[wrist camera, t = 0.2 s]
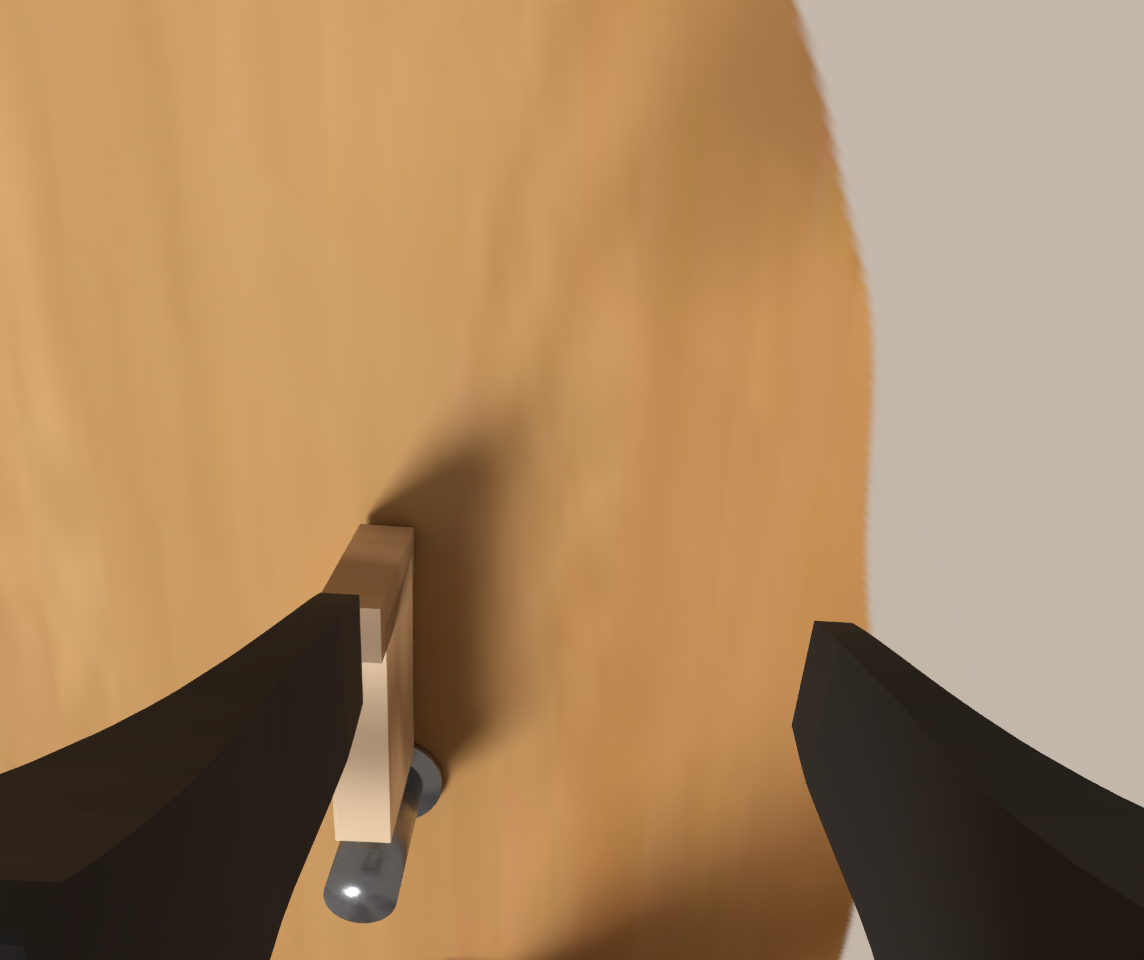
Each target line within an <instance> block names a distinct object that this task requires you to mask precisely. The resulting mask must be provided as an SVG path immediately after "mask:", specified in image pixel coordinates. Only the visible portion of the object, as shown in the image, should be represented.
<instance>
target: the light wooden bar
mask: <svg viewBox="0 0 1144 960" xmlns="http://www.w3.org/2000/svg"><path fill="white" fill-rule="evenodd" d="M413 577H414V527H400V526H384V525H367V524H360V525H359V527H358V529H357V531H356V533H355V534H354V536H353V538H352V540H351V541H350V543H349V545H348V547H347V548H346V550H345V552H344V554H343V556H342V557H341V559H340V561H339V563H338V564H337V566H336V568H335V570H334V572H333V573H332V575H331V577H330V579H329V580H328V582H327V584H326V586H325V588H324V589H323V591H322V593H337V594H354V595H359V600H360V628H361V656H362V683H363V705H362V709H361V713H360V717H359V721H358V725H357V728H356V732H355V736H354V739H353V743H352V747H351V750H350V754H349V757H348V760H347V763H346V765H345V768H344V770H343V773H342V775H341V778H340V780H339V783H338V785H337V787H336V790H335V792H334V795H333V809H334V826H335V840H337V841H358V842H379V843H391V840H392V836H393V832H394V828H395V824H396V820H397V816H398V812H399V809H400V805H401V801H402V797H403V793H404V789H405V785H406V781H407V777H408V774H409V770H410V766H411V762H412V758H413V754H414V716H413V587H412V579H413Z"/></svg>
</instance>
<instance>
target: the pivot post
mask: <svg viewBox="0 0 1144 960" xmlns="http://www.w3.org/2000/svg"><path fill="white" fill-rule="evenodd" d="M442 783H443V775H442V771H441V768H440V766H439V764H438V762H437V760H436V759H435V758H434V757H433V756H432V755H431V754H430V753H429V752H428V751H427V750H426V749H424V748H423V747H421V746H419V745H417V744H415V743H414V754H413V758H412V762H411V766H410V770H409V774H408V777H407V781H406V785H405V789H404V793H403V797H402V801H401V805H400V809H399V812H398V816H397V820H396V824H395V828H394V832H393V836H392V840H391V843H379V842H358V841H340V843H339V846H338V849H337V852H336V855H335V858H334V861H333V864H332V867H331V870H330V873H329V876H328V879H327V882H326V886H325V889H324V900H325V903H326V905H327V906H328V908H329V909H330V910H331V911H332V912H333V913H334V914H336V915H337V916H339V917H341V918H343V919H345V920H348V921H351V922H356V923H371V922H376V921H379V920H382V919H384V918H385V917H387V916H388V915H390V914H391V913H392V911H393V910H394V909H395V906H396V903H397V899H398V894H399V890H400V886H401V881H402V877H403V873H404V868H405V864H406V859H407V855H408V851H409V846H410V842H411V838H412V833H413V829H414V824H415V820H416V818H417V817H419V816H422V815H423V814H425V813H427V812H428V811H429V810H430V809H432V807H433V806H434V805H435V804H436V802H437V801H438V799H439V797H440V793H441V789H442Z"/></svg>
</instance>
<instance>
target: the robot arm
mask: <svg viewBox="0 0 1144 960" xmlns="http://www.w3.org/2000/svg"><path fill="white" fill-rule="evenodd" d="M362 705H363V683H362V656H361V628H360V600H359V595H354V594H337V593H319V594H317V595H316V596H314V597H313V598H311V599H310V600H308V601H307V602H306V603H304V604H303V605H301V606H300V607H299V608H297V609H296V610H295V611H293V612H292V613H290V614H289V615H288V616H286V617H285V618H284V619H282V620H281V621H280V622H278V623H277V624H276V625H274V626H273V627H271V628H270V629H269V630H267V631H266V632H264V633H263V634H262V635H260V636H259V637H257V638H256V639H255V640H253V641H252V642H250V643H249V644H248V645H246V646H245V647H243V648H242V649H241V650H239V651H238V652H236V653H235V654H233V655H232V656H230V657H229V658H227V659H226V660H224V661H223V662H221V663H219V664H218V665H216V666H215V667H213V668H212V669H210V670H209V671H207V672H205V673H204V674H202V675H201V676H199V677H198V678H196V679H194V680H193V681H191V682H190V683H188V684H187V685H185V686H184V687H182V688H180V689H179V690H177V691H175V692H174V693H172V694H170V695H169V696H167V697H165V698H163V699H161V700H160V701H158V702H156V703H154V704H153V705H151V706H149V707H147V708H145V709H143V710H141V711H139V712H138V713H136V714H134V715H132V716H130V717H128V718H126V719H124V720H122V721H120V722H118V723H117V724H115V725H113V726H111V727H108V728H106V729H104V730H102V731H100V732H98V733H96V734H94V735H91V736H89V737H87V738H85V739H82V740H80V741H78V742H75V743H73V744H71V745H69V746H66V747H64V748H62V749H60V750H57V751H55V752H53V753H51V754H48V755H46V756H44V757H42V758H39V759H37V760H35V761H33V762H30V763H28V764H25V765H23V766H20V767H18V768H15V769H12V770H10V771H7V772H4V773H2V774H0V960H270V958H271V955H272V952H273V948H274V945H275V942H276V939H277V935H278V932H279V929H280V926H281V922H282V919H283V917H284V914H285V911H286V909H287V906H288V903H289V901H290V898H291V895H292V893H293V890H294V887H295V885H296V883H297V880H298V878H299V876H300V873H301V871H302V868H303V866H304V864H305V861H306V859H307V857H308V854H309V852H310V849H311V847H312V845H313V842H314V840H315V838H316V835H317V833H318V830H319V828H320V826H321V823H322V821H323V819H324V816H325V814H326V812H327V809H328V807H329V804H330V802H331V800H332V797H333V795H334V792H335V790H336V787H337V785H338V783H339V780H340V778H341V775H342V773H343V770H344V768H345V765H346V763H347V760H348V757H349V754H350V750H351V747H352V743H353V739H354V736H355V732H356V728H357V725H358V721H359V717H360V713H361V709H362ZM792 728H793V732H794V737H795V741H796V745H797V749H798V754H799V758H800V762H801V765H802V769H803V773H804V777H805V780H806V784H807V786H808V789H809V792H810V794H811V797H812V799H813V802H814V804H815V807H816V810H817V812H818V815H819V817H820V820H821V822H822V825H823V827H824V830H825V832H826V835H827V837H828V840H829V842H830V844H831V847H832V849H833V852H834V854H835V857H836V859H837V862H838V864H839V867H840V869H841V871H842V874H843V876H844V879H845V881H846V884H847V886H848V889H849V891H850V894H851V896H852V899H853V901H854V903H855V906H856V908H857V911H858V913H859V916H860V919H861V921H862V924H863V927H864V930H865V932H866V935H867V938H868V941H869V944H870V946H871V949H872V953H873V956H874V960H1144V808H1143V807H1141V806H1139V805H1137V804H1135V803H1133V802H1131V801H1129V800H1127V799H1124V798H1122V797H1120V796H1118V795H1116V794H1114V793H1112V792H1111V791H1109V790H1107V789H1105V788H1103V787H1101V786H1099V785H1097V784H1095V783H1093V782H1091V781H1090V780H1088V779H1086V778H1084V777H1082V776H1081V775H1079V774H1077V773H1075V772H1074V771H1072V770H1070V769H1068V768H1066V767H1065V766H1063V765H1061V764H1059V763H1057V762H1056V761H1054V760H1052V759H1051V758H1049V757H1047V756H1045V755H1043V754H1042V753H1040V752H1038V751H1037V750H1035V749H1034V748H1032V747H1030V746H1029V745H1027V744H1025V743H1024V742H1022V741H1020V740H1019V739H1017V738H1016V737H1014V736H1013V735H1011V734H1009V733H1008V732H1007V731H1005V730H1004V729H1002V728H1000V727H999V726H997V725H996V724H994V723H993V722H991V721H990V720H988V719H987V718H985V717H984V716H982V715H981V714H979V713H978V712H976V711H975V710H973V709H972V708H971V707H969V706H968V705H966V704H965V703H963V702H962V701H961V700H959V699H958V698H956V697H955V696H953V695H952V694H951V693H949V692H948V691H946V690H945V689H944V688H942V687H941V686H939V685H938V684H937V683H936V682H934V681H933V680H931V679H930V678H929V677H927V676H926V675H925V674H923V673H922V672H921V671H919V670H918V669H916V668H915V667H914V666H912V665H911V664H910V663H908V662H907V661H906V660H904V659H903V658H902V657H900V656H899V655H898V654H896V653H895V652H894V651H892V650H891V649H890V648H888V647H887V646H886V645H884V644H883V643H881V642H880V641H879V640H877V639H876V638H875V637H873V636H872V635H870V634H869V633H867V632H866V631H864V630H863V629H861V628H860V627H858V626H856V625H855V624H853V623H843V622H826V621H814V625H813V630H812V634H811V639H810V644H809V648H808V653H807V658H806V662H805V667H804V671H803V676H802V681H801V685H800V690H799V695H798V699H797V704H796V708H795V713H794V718H793V722H792Z"/></svg>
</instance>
